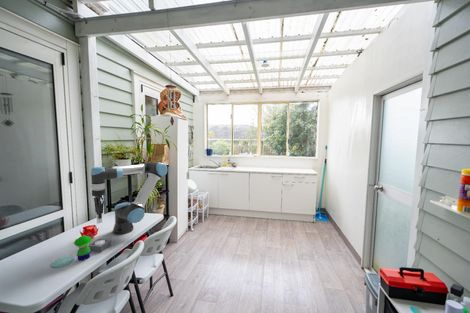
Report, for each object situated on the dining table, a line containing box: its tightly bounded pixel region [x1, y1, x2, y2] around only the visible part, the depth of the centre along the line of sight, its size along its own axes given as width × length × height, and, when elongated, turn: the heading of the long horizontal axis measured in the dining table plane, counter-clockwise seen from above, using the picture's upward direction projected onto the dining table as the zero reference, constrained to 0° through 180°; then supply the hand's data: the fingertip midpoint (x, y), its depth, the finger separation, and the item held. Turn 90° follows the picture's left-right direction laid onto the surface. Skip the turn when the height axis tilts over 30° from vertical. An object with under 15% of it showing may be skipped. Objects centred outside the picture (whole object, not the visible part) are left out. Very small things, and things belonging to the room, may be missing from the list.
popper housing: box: [88, 238, 113, 253], centre depth 136 cm, size 10×10×4 cm
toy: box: [73, 235, 93, 262], centre depth 123 cm, size 9×9×15 cm
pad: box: [50, 255, 76, 269], centre depth 120 cm, size 11×11×1 cm
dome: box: [95, 240, 105, 245], centre depth 136 cm, size 6×6×3 cm
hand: (99, 222), depth 135 cm, fingers closed
